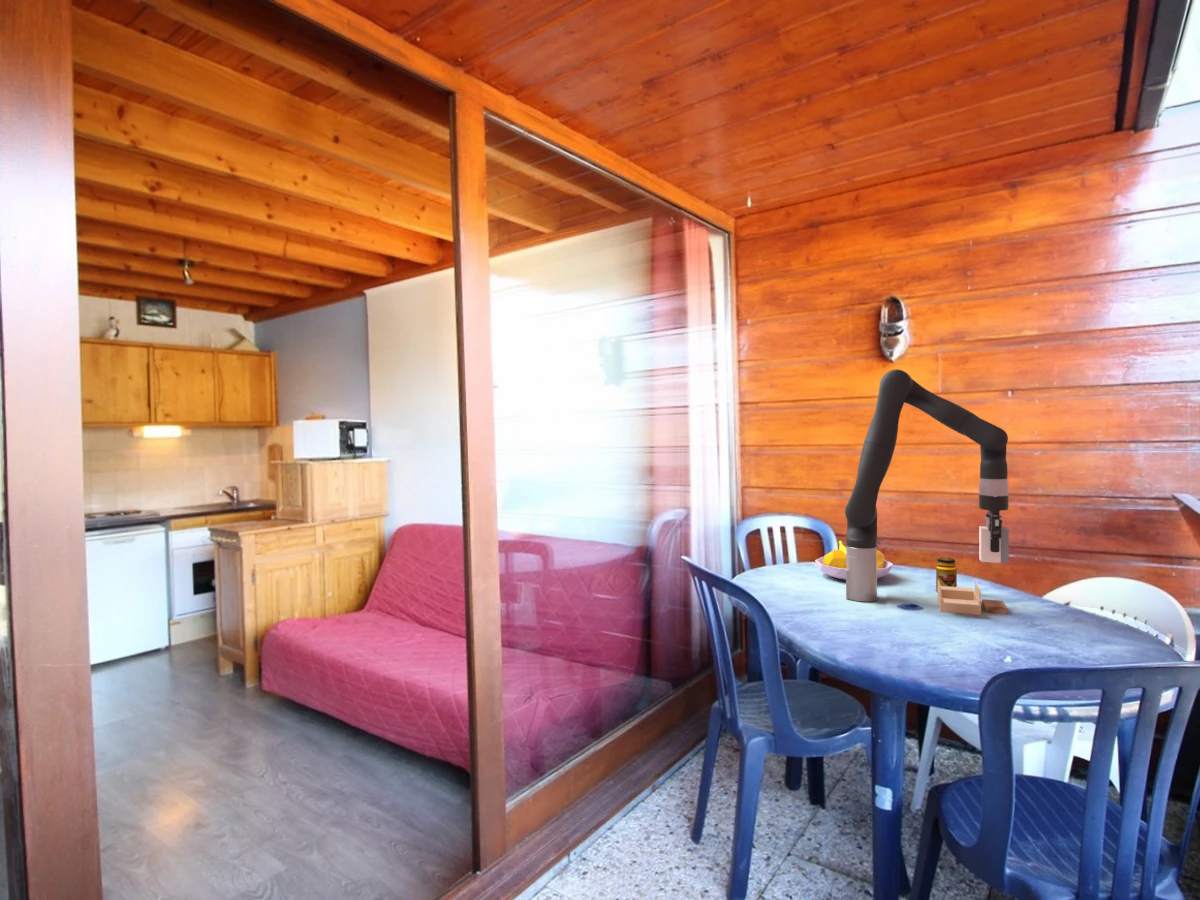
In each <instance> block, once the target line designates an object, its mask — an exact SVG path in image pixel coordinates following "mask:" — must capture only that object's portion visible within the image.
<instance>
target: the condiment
mask: <svg viewBox="0 0 1200 900" xmlns="http://www.w3.org/2000/svg"><path fill="white" fill-rule="evenodd" d="M936 561H937V563H936V564H937V566H936V567H935V574H936V575H935V581H936V582H935V584H936V585H935V590H934V591H935V592H936V593H937V589H938V580H939V582H940V585H941V586H948V587H958V583H957V582H958V581H957V579H958V578H957V575H958V572H957V570H958V569H957V567H956V560H955V558H952V557H938V558H937V559H936Z"/></svg>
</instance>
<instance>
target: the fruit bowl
mask: <svg viewBox="0 0 1200 900" xmlns="http://www.w3.org/2000/svg"><path fill="white" fill-rule="evenodd" d="M838 543H839V545H838V546H839V547H838V549H832V550H831V551H830V552H828V553H827V554H825V555H824V556H821V557H819V558H818V559H815V560H814V561H815V563H816V565H817V567H818V569H819V570H820V572H822V573H824V574H825V575H827V576H830V577H832V578H833V577H834V579H837V578H838V580H842V579H843V581H846V569H847V566H846V546H845V545H844V544H843V541H842V540H838ZM893 566H894V564H893V563H892V562H890V561H888V560H886V559H885V555H884V553H882V552H881V551H880V550H878V549H877V580H878V579H880V578H882V577H885V576H888V575H889V573H890V571H891V570H892V567H893Z"/></svg>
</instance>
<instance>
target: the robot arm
mask: <svg viewBox="0 0 1200 900" xmlns="http://www.w3.org/2000/svg"><path fill="white" fill-rule="evenodd" d="M878 388H879V389H878V395H877V399H876V400H877V401H876V405H875V406H876V407H875V411H874V413H873V416H872V418H871V421H870V423H869V426H868V429H867V432H866V435H865V438H864V442H863V446H862V449H861V452H860V458H859V461H858V467H857V473H856V474H857V475H856V478H855V479H856V480H855V484H854V485H853V486H854V487H853V489H852V492H851V494H850V497H849V500H848V502H847V504H846V506H845V509H844V515H845V518H846V521H847V522H846V525H847V526H846V539H845V541H846V542H845V545H846V566H847V569H846V580H845V595H846V596H845V599H846V600H851V601H856V602H875V601H877V600H878V579H877V550H878V549H877V545H878V544H877V543H878V541H877V540H878V539H877V538H878V510H877V509H878V508H877V500H878V497H879V491H880V488H881V485H882V482H883V481H884V479H885V477H886V474H887V472H888V469H889V467H890V466H891V462H892V459H893V455H894V452H895V448H896V444H897V440H898V433H899V422H900V416H901V412H902V409H903V407H904V405H905V404H907V405H910V406H912V407H914V408H916V409H918V410H920V411H921V412H923V413H925V414H927V415H928V416H930V417H931V418H933V419H934V420H935V421H938V422H939V423H940V424H942V425H944V426H945V427H948V428H949V429H951V430H953V431H954V432H956V433H958V434H961V435H962V436H965V437H967V438H968V439H970V440H972V441H973V442H974V443H976V444H978V445H979V446H980V447H979V448H980V464H979V484H978V507H979V509H980V510H983V511H987V513H985V516H984V519H985V527H988V531H990V550H991V552H999V540H1000V539H1001V537H1002V536H1001V531H1002V526H1003V516H1001V514H1000V512H1001V511H1007V510H1008V509H1009V481H1008V463H1007V447H1008V446H1007V444H1008V441H1009V435H1008V434H1007V432H1006V431H1005V430H1004V429H1003V428H1001V427H999V426H997V425H995V424H993V423H991V422H989V421H987V420H985V419H983V418H981V417H979V416H977V415H976V414H975V413H973V412H971V411H969V410H968V409H966V408H965V407H963V406H961V405H959V404H956V403H954V402H952V401H950V400H948V399H946V398H943V397H942V396H939V395H937V394H935V393H933V392H931V391H930V390H928V389H926V388H925V387H923V386H922V385H921V384H919V383H918V382H916V381H915V380H914V379H913V378H912V377H911V375H909V373H907V371H904V370H902V369H892V370H889V371H887V372H886V373H885V374H883V376H882V377H881V378H880V381H879V387H878ZM994 531H995V532H998V534H994Z"/></svg>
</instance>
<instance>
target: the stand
mask: <svg viewBox="0 0 1200 900" xmlns="http://www.w3.org/2000/svg"><path fill="white" fill-rule="evenodd" d="M981 608H983V610H984V613H986V614H999V615H1000V614H1001V615H1007V614H1008V608H1007V605H1006V604H1005V602H1004V601H1003V600H1000V599H999V600H998V599H983V598H982V599H981Z"/></svg>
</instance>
